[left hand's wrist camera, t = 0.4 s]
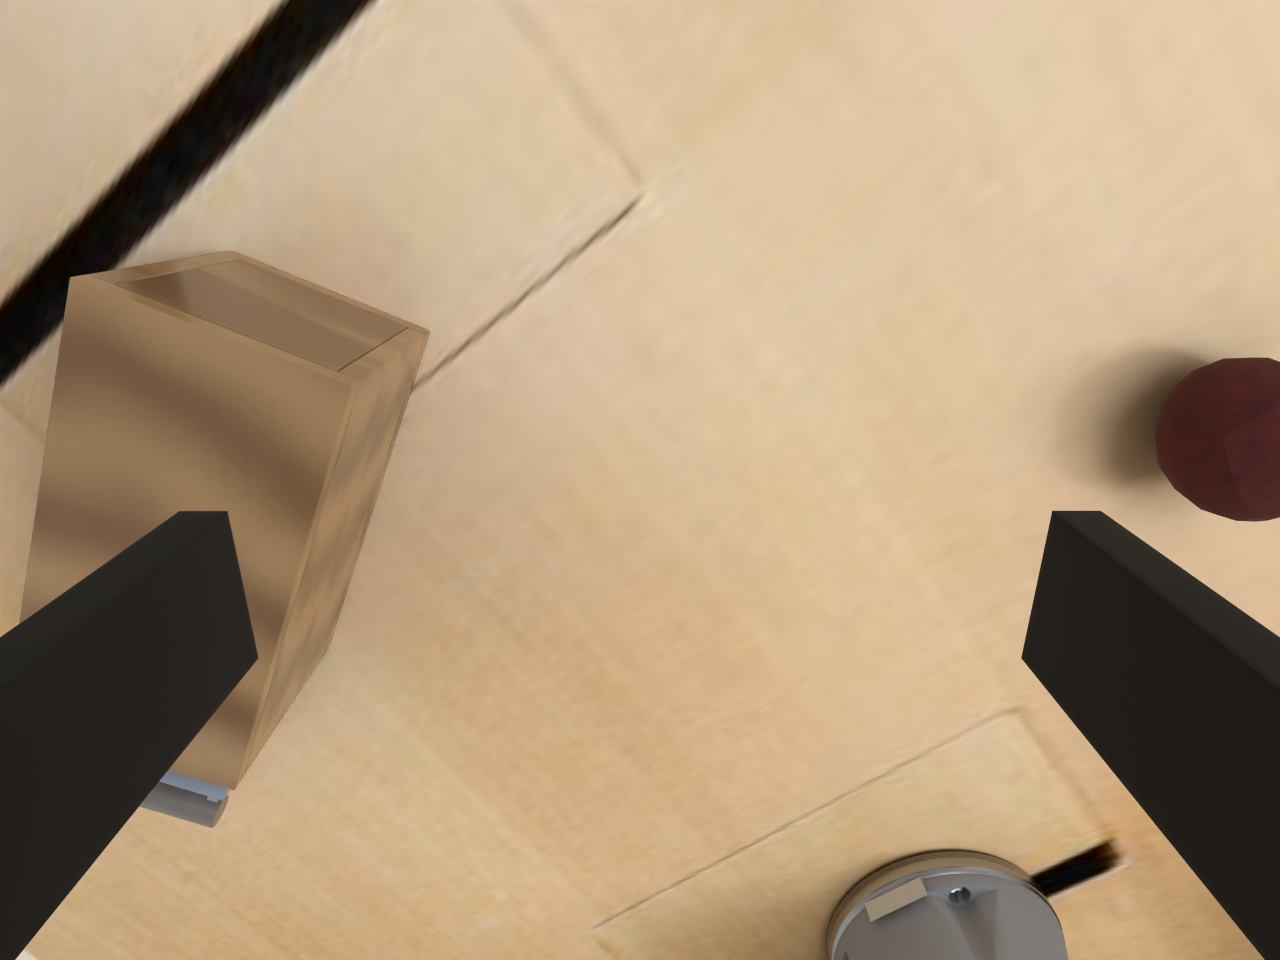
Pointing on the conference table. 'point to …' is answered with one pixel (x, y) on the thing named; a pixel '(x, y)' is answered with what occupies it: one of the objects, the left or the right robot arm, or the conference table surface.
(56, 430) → the cabinet
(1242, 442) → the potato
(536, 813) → the conference table surface
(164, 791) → the drawer
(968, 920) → the right robot arm
